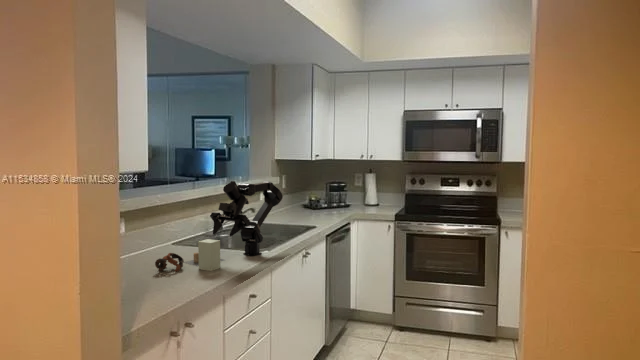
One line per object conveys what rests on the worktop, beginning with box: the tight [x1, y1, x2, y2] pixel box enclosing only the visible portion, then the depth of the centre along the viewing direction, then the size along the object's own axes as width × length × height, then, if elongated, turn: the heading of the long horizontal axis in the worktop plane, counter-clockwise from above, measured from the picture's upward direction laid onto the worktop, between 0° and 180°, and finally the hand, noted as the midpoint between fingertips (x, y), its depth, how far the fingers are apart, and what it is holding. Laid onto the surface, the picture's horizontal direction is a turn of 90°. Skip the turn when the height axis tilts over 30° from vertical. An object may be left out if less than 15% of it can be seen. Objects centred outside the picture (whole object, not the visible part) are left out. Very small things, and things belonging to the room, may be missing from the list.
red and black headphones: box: [154, 252, 185, 272], centre depth 197 cm, size 12×10×8 cm
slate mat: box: [183, 258, 225, 267], centre depth 213 cm, size 15×11×1 cm
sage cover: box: [197, 238, 221, 272], centre depth 200 cm, size 6×7×12 cm
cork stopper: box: [193, 251, 199, 263], centre depth 211 cm, size 3×3×4 cm
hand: (221, 235), depth 207 cm, fingers open, 9 cm apart
